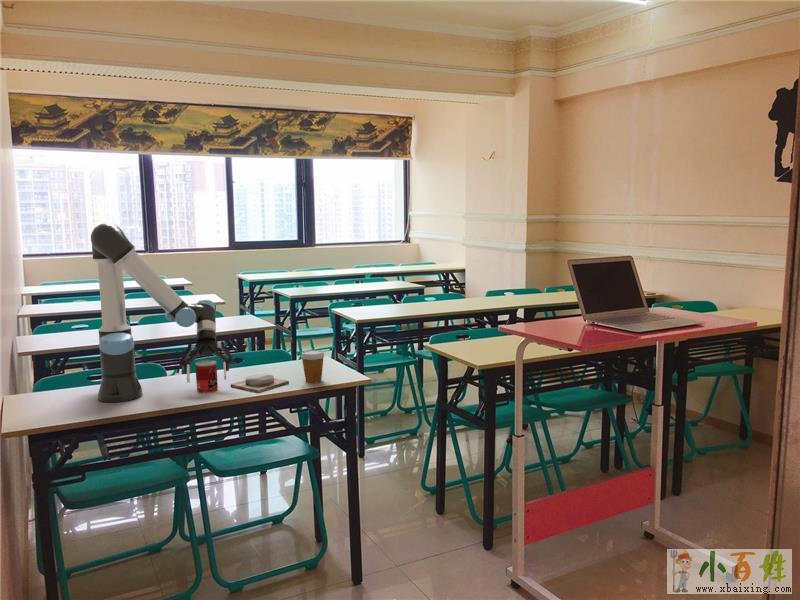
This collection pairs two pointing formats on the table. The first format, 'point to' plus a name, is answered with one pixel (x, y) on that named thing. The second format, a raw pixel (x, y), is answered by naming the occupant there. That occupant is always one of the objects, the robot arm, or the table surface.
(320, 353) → the disposable coffee cup
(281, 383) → the seat plate
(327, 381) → the table surface
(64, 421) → the table surface
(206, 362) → the canned food
